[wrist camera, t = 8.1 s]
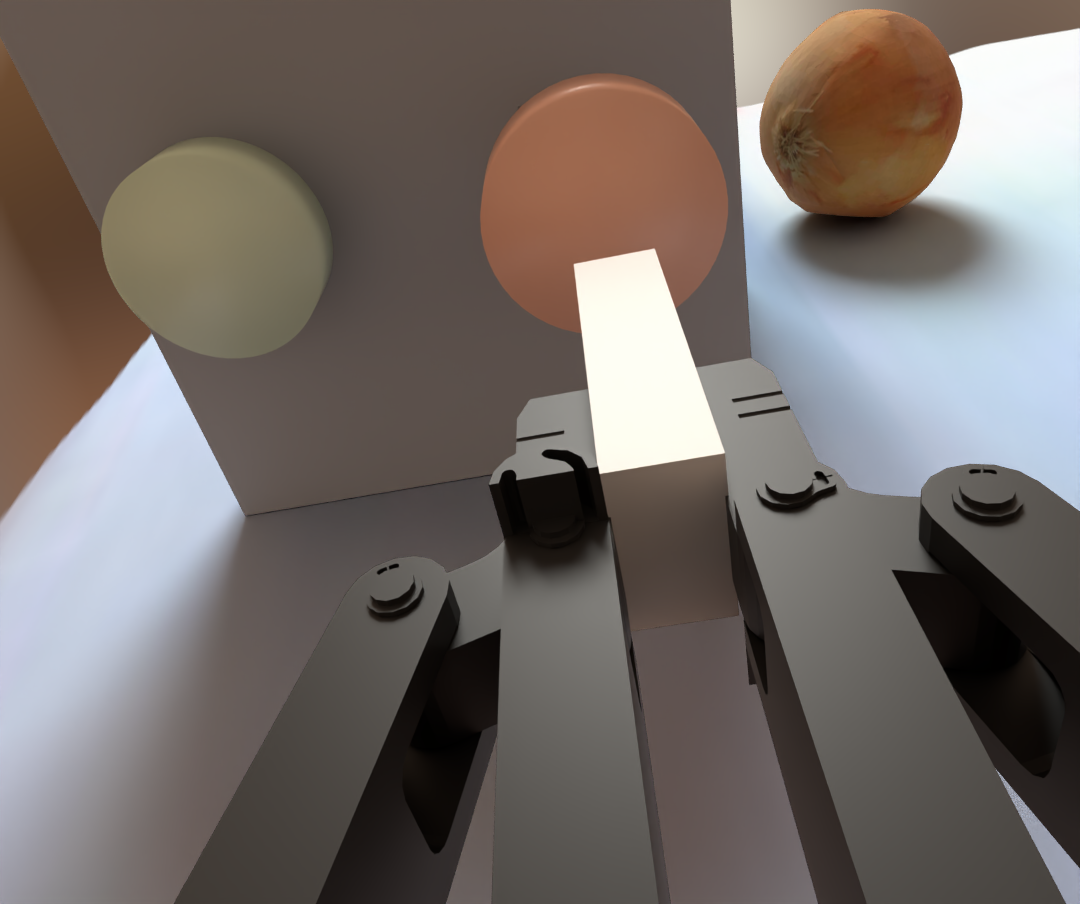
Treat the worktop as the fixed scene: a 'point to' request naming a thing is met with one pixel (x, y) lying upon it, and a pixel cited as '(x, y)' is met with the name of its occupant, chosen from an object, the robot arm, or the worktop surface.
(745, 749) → the worktop surface
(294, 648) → the worktop surface
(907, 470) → the worktop surface
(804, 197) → the onion
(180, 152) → the sage button
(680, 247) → the terracotta button
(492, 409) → the panel
